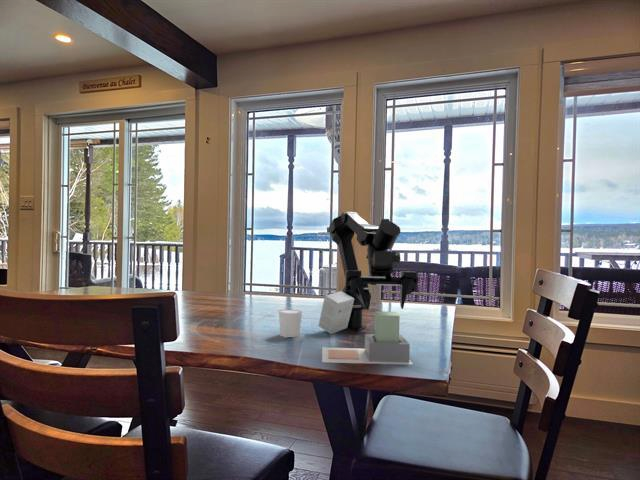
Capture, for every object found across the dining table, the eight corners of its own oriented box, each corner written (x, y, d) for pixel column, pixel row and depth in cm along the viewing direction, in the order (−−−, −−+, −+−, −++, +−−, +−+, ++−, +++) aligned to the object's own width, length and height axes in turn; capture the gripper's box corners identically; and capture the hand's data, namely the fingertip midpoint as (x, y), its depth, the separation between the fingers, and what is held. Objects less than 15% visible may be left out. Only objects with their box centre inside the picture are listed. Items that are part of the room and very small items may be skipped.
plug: (373, 352, 95) (374, 311, 95) (394, 353, 95) (395, 311, 95) (376, 358, 90) (377, 315, 90) (398, 359, 90) (399, 315, 90)
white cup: (303, 333, 118) (303, 309, 118) (299, 338, 111) (300, 313, 111) (280, 332, 119) (281, 308, 119) (275, 337, 112) (276, 312, 112)
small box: (334, 320, 126) (341, 290, 123) (347, 328, 122) (355, 298, 120) (317, 326, 120) (324, 295, 117) (330, 334, 117) (338, 303, 114)
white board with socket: (322, 351, 99) (322, 331, 99) (402, 353, 98) (402, 333, 98) (322, 366, 87) (322, 343, 87) (412, 368, 86) (413, 346, 86)
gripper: (346, 239, 103) (348, 286, 92) (417, 241, 103) (428, 287, 92) (344, 267, 111) (345, 313, 100) (410, 269, 111) (419, 315, 100)
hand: (384, 307), depth 97 cm, fingers open, 9 cm apart
